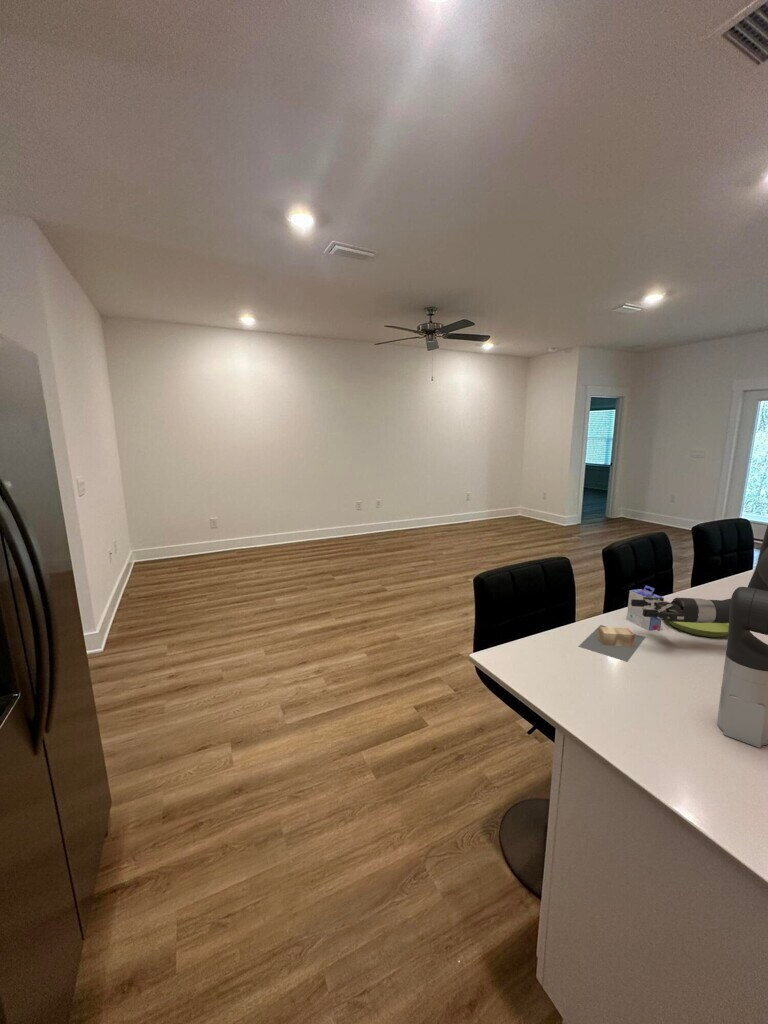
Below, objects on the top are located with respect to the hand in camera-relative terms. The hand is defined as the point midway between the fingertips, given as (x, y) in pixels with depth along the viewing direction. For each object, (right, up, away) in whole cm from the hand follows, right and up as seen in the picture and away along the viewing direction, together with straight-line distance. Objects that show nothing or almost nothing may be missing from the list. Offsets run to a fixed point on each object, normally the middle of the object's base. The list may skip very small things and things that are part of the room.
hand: (637, 607), depth 131 cm
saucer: (+30, -11, +15) cm, 36 cm away
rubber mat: (-6, -13, +3) cm, 14 cm away
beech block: (-10, -10, +3) cm, 14 cm away
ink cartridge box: (+12, -11, +16) cm, 23 cm away
